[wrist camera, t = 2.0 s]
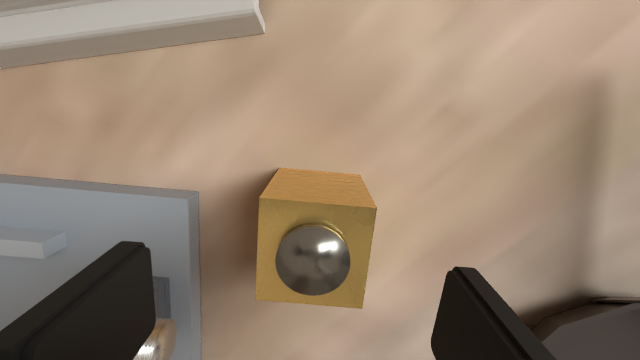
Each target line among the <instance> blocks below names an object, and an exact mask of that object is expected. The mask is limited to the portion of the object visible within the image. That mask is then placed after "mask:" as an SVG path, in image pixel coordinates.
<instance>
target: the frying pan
mask: <svg viewBox="0 0 640 360" xmlns="http://www.w3.org/2000/svg"><path fill="white" fill-rule="evenodd" d="M589 301H590V302H594V303H590V304H587V305H584V306H581V307H578V308H575V309H572V310H568V311H565V312H562V313H559V314H556V315H553V316H549V317H546V318H545V319H543V320H542V321H541V322H540V323H539V324H538V325H537V326H535V327H534V328H533V329H532V330H531V331H532V333H533V334H534V335H535V336H536V337H537V338H538V339H539V340H540V342H541V343H542V344H543V345H544V346H545V347H546V348H547V349H548V351H549V352H550V353H551V354H552V355H553V356H554V357H555V358H556V359H557V360H640V298H634V297H607V298H597V299H590V300H589Z"/></svg>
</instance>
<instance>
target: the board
mask: <svg viewBox="0 0 640 360" xmlns="http://www.w3.org/2000/svg"><path fill="white" fill-rule="evenodd" d="M121 241H133V242H143V243H144V244H145V246H146V247H148V248H149V249H150V252H151V263H152V276H157V277H169V281H170V303H171V319H173V320H174V321H175V322H176V327H177V334H176V341H175V345H174V349H173V352H172V355H171V358H170V360H201V312H200V248H199V192H196V191H185V190H174V189H162V188H151V187H140V186H128V185H117V184H106V183H94V182H83V181H72V180H60V179H49V178H38V177H26V176H15V175H4V174H0V331H1V330H2V329H4V328H5V327H6V326H8V325H9V324H10V323H12V322H13V321H14V320H16V319H17V318H18V317H20V316H21V315H22V314H24V313H25V312H26V311H28V310H29V309H30V308H32V307H33V306H35V305H36V304H37V303H39V302H40V301H41V300H43V299H44V298H45V297H47V296H48V295H49V294H51V293H52V292H53V291H55V290H56V289H57V288H59V287H60V286H61V285H63V284H64V283H65V282H67V281H68V280H69V279H71V278H72V277H73V276H75V275H76V274H77V273H79V272H80V271H81V270H83V269H84V268H85V267H87V266H88V265H89V264H91V263H92V262H94V261H95V260H96V259H98V258H99V257H100V256H102V255H103V254H104V253H106V252H107V251H108V250H110V249H111V248H112V247H114V246H115V245H116V244H118V243H119V242H121Z"/></svg>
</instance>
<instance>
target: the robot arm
mask: <svg viewBox="0 0 640 360" xmlns="http://www.w3.org/2000/svg"><path fill="white" fill-rule="evenodd" d="M155 323H156V313H155V300H154V288H153V276H152V263H151V252H150V249H149V248H148V247H146V246H145V244H144V243H143V242H133V241H121V242H119V243H118V244H116V245H115V246H114V247H112V248H111V249H110V250H108V251H107V252H106V253H104V254H103V255H102V256H100V257H99V258H98V259H96V260H95V261H94V262H92V263H91V264H89V265H88V266H87V267H85V268H84V269H83V270H81V271H80V272H79V273H77V274H76V275H75V276H73V277H72V278H71V279H69V280H68V281H67V282H65V283H64V284H63V285H61V286H60V287H59V288H57V289H56V290H55V291H53V292H52V293H51V294H49V295H48V296H47V297H45V298H44V299H43V300H41V301H40V302H39V303H37V304H36V305H35V306H33V307H32V308H30V309H29V310H28V311H26V312H25V313H24V314H22V315H21V316H20V317H18V318H17V319H16V320H14V321H13V322H12V323H10V324H9V325H8V326H6V327H5V328H4V329H2V330H1V331H0V360H133V359H134V357H135V356H136V355H137V353H138V352H139V350H140V349H141V347H142V346H143V345H144V343H145V342H146V340H147V339H148V337H149V336H150V334H151V333H152V331H153V329H154V327H155ZM431 347H432V351H433V354H434V356H435V358H436V360H557V359H556V358H555V357H554V356H553V355H552V354H551V353H550V352H549V351H548V349H547V348H546V347H545V346H544V345H543V344H542V343H541V342H540V340H539V339H538V338H537V337H536V336H535V335H534V334H533V333H532V331H531V330H530V329H529V328H528V327H527V326H526V325H525V324H524V322H523V321H522V320H521V319H520V318H519V317H518V316H517V315H516V313H515V312H514V311H513V310H512V309H511V308H510V307H509V306H508V304H507V303H506V302H505V301H504V300H503V299H502V298H501V297H500V295H499V294H498V293H497V292H496V291H495V290H494V289H493V288H492V286H491V285H490V284H489V283H488V282H487V281H486V280H485V279H484V277H483V276H482V275H481V274H480V273H479V272H478V271H477V270H476V269H475V268H468V267H454V268H453V269H452V271H448V273H447V275H446V279H445V283H444V287H443V292H442V296H441V300H440V304H439V308H438V312H437V316H436V321H435V325H434V329H433V333H432V337H431Z"/></svg>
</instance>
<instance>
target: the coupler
mask: <svg viewBox="0 0 640 360" xmlns="http://www.w3.org/2000/svg"><path fill="white" fill-rule="evenodd" d="M376 211H377V207H376V205H375V203H374V201H373V199H372V197H371V195H370V193H369V192H368V190H367V188H366V186H365V184H364V182H363V180H362V178H361V176H360V175H355V174H344V173H333V172H322V171H310V170H299V169H288V168H279V169H278V171H277V172H276V174H275V175H274V177H273V178H272V180H271V181H270V183H269V184H268V185H267V187H266V188H265V190H264V191H263V193H262V194H261V196H260V197H259V216H258V242H257V267H256V293H255V300H265V301H277V302H289V303H301V304H312V305H324V306H336V307H348V308H360V309H362V307H363V300H364V293H365V286H366V279H367V272H368V266H369V259H370V252H371V245H372V238H373V231H374V224H375V218H376Z"/></svg>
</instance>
